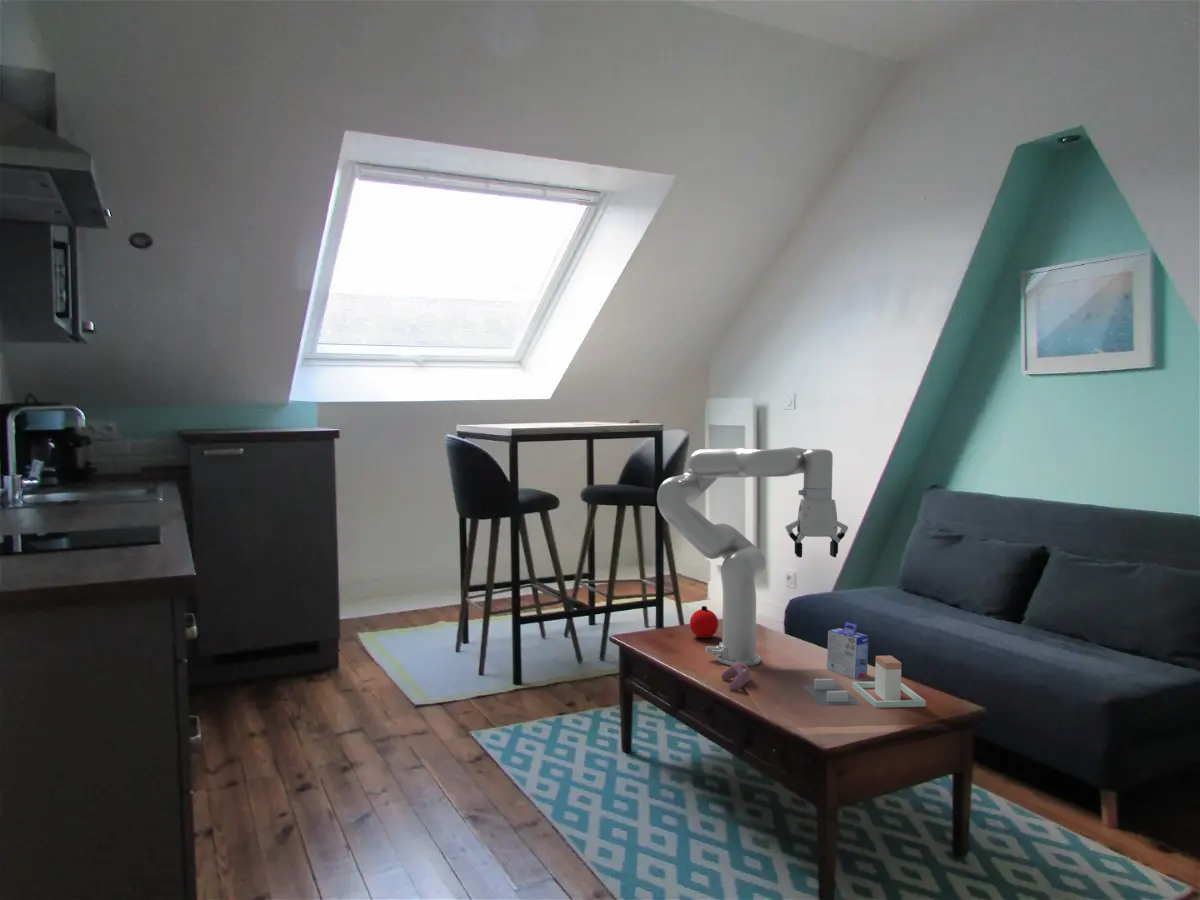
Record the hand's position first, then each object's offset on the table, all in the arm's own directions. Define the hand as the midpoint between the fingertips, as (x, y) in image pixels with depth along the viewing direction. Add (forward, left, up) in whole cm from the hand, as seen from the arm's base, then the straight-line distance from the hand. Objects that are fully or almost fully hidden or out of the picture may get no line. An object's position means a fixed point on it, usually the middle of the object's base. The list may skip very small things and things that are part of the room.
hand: (816, 556), depth 231 cm
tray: (+11, -23, -32) cm, 41 cm away
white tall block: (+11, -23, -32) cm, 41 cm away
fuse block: (-3, -21, -32) cm, 39 cm away
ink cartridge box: (+8, -4, -33) cm, 34 cm away
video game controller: (-24, -9, -33) cm, 41 cm away
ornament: (-23, +36, -32) cm, 54 cm away
